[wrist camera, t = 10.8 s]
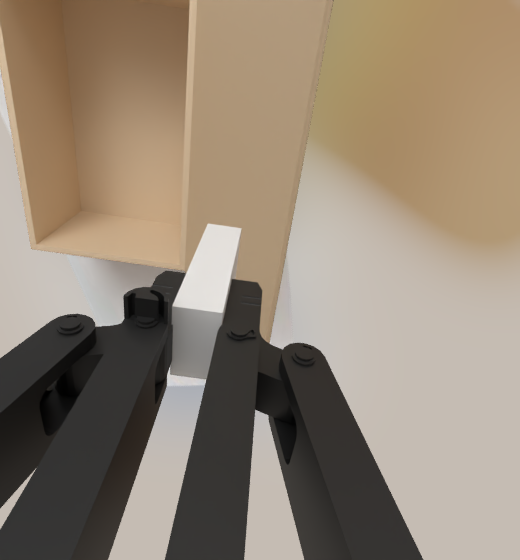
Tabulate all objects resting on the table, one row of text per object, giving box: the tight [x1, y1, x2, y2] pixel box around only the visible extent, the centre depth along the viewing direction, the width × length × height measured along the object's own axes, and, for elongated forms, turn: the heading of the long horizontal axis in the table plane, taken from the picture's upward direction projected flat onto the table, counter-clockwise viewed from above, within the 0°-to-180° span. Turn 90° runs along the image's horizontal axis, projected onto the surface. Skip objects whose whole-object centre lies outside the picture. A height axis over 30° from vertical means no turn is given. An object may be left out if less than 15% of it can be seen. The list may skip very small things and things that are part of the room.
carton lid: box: [185, 0, 333, 343], centre depth 29 cm, size 24×16×1 cm
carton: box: [0, 0, 197, 271], centre depth 39 cm, size 24×16×11 cm, turn 172°
